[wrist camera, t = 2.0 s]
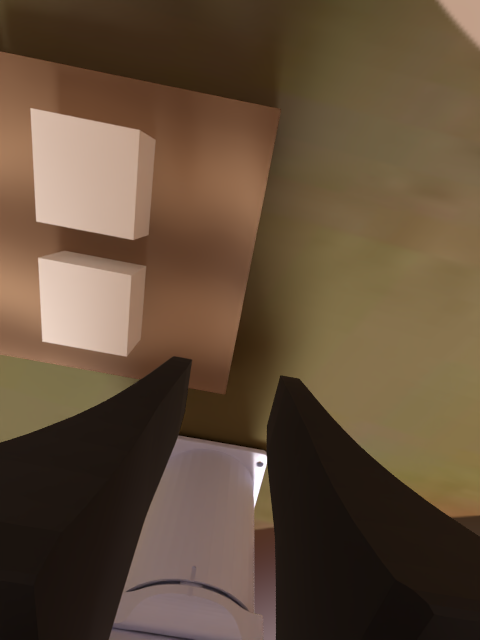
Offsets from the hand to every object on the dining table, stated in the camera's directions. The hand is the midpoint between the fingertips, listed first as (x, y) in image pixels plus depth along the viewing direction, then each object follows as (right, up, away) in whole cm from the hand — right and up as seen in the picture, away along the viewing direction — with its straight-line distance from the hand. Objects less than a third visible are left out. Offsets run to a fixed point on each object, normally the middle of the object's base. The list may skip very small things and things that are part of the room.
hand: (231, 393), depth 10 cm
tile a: (-7, +4, +6) cm, 9 cm away
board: (-6, +7, +8) cm, 12 cm away
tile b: (-6, +9, +4) cm, 11 cm away
